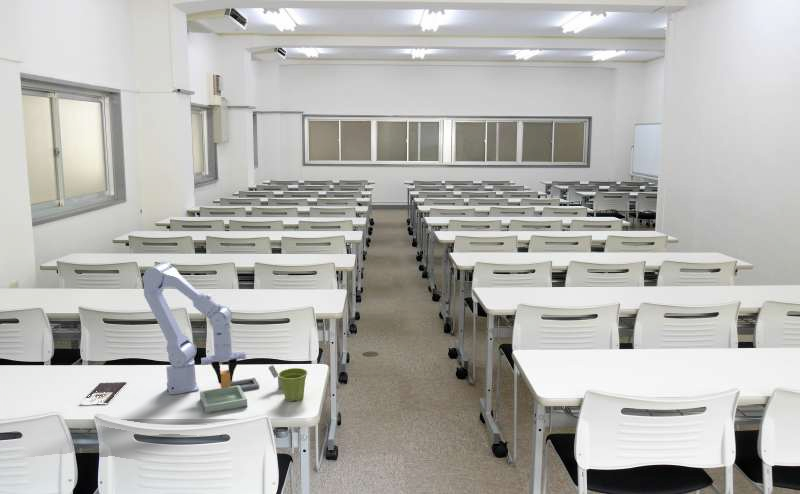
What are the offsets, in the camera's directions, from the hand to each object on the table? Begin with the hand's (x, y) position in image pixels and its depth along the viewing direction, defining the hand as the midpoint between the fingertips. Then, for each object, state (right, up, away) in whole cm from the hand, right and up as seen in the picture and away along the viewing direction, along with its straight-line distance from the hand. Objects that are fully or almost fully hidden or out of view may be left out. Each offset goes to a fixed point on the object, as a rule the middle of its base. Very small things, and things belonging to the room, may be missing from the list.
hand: (225, 381), depth 234 cm
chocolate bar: (-41, -5, -1) cm, 41 cm away
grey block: (+18, -3, +2) cm, 19 cm away
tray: (+2, -5, -10) cm, 12 cm away
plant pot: (+25, -4, -7) cm, 26 cm away
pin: (0, -2, 0) cm, 2 cm away
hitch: (+5, -2, +3) cm, 6 cm away
